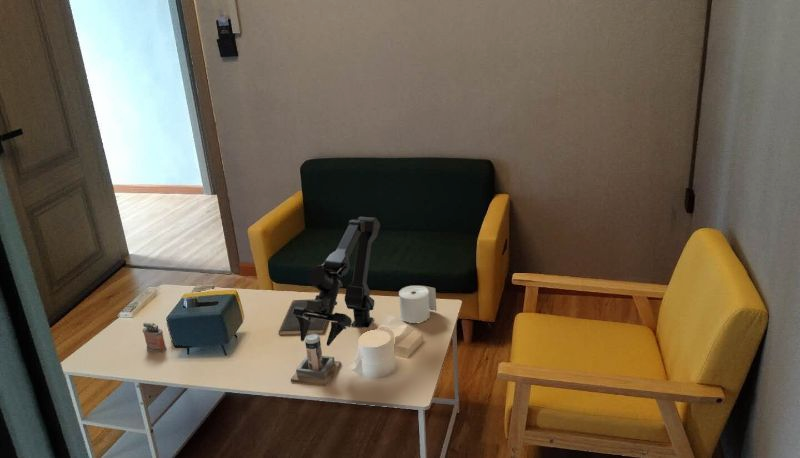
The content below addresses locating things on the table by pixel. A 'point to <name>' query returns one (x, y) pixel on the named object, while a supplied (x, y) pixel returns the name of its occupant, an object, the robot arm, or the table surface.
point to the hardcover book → (292, 324)
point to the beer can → (314, 352)
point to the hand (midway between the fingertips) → (314, 343)
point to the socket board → (316, 372)
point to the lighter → (154, 338)
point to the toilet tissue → (416, 303)
